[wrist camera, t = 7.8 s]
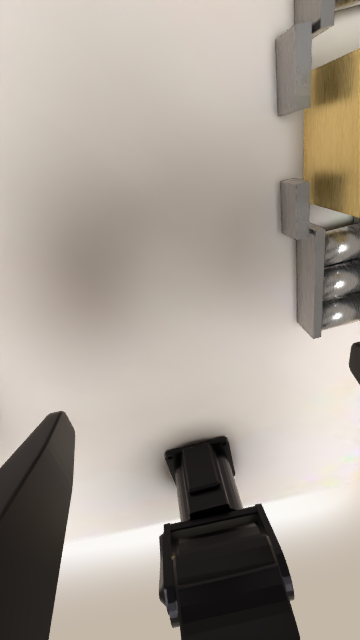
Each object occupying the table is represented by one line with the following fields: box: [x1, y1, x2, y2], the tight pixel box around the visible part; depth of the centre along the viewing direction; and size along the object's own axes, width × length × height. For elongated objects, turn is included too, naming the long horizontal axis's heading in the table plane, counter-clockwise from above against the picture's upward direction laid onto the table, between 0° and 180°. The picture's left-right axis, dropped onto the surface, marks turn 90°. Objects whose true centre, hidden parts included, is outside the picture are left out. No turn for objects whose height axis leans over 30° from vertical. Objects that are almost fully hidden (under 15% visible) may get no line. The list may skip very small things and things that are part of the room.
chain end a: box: [281, 178, 360, 339], centre depth 20 cm, size 11×7×2 cm, turn 13°
